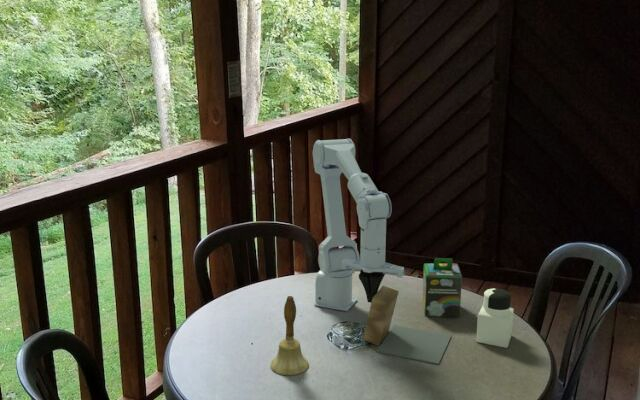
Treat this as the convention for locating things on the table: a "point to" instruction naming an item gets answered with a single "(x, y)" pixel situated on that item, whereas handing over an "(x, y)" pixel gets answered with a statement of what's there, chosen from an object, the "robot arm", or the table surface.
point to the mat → (415, 344)
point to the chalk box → (442, 288)
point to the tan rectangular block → (380, 315)
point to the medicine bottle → (495, 318)
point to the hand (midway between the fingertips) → (371, 300)
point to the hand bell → (289, 346)
